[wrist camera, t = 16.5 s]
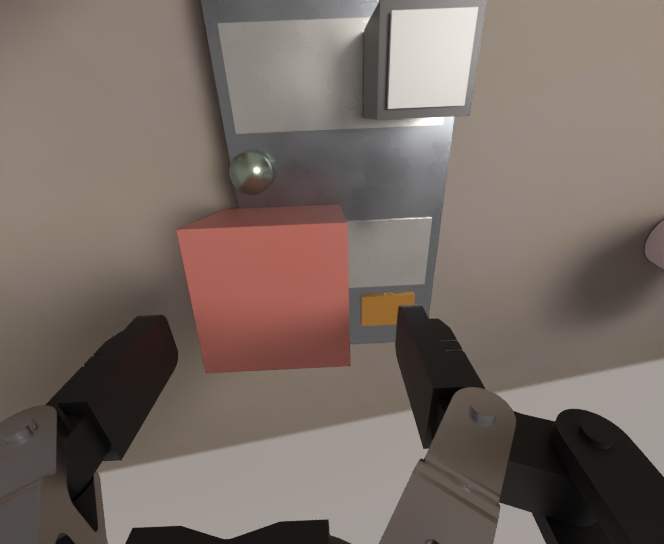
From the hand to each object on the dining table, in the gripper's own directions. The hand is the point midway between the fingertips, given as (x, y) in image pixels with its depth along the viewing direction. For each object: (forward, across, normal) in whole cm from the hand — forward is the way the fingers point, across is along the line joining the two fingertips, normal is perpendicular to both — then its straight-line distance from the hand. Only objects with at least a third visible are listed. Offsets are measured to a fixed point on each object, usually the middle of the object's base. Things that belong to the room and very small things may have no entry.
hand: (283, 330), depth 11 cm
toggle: (+6, -5, -8) cm, 11 cm away
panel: (+9, -2, -3) cm, 9 cm away
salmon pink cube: (+6, 0, 0) cm, 6 cm away
